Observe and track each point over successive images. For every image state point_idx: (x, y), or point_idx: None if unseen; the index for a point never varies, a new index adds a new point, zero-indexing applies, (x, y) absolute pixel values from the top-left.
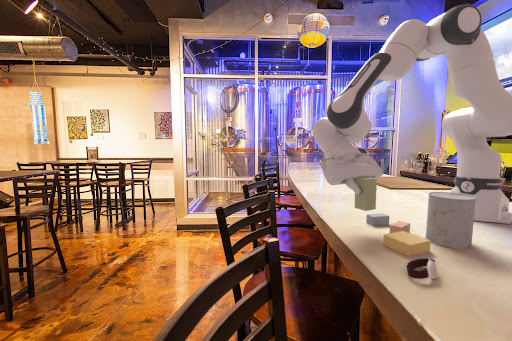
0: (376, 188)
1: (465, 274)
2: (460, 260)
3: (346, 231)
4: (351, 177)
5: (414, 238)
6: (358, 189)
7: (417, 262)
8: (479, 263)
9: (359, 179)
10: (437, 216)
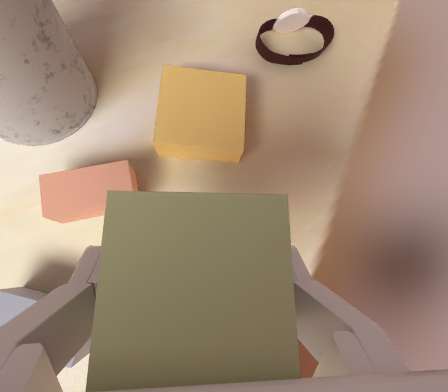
0: (88, 248)
1: (217, 12)
2: (156, 36)
3: None
4: (398, 374)
5: (188, 91)
6: (300, 260)
7: (275, 56)
8: (136, 14)
9: (291, 305)
10: (53, 32)
